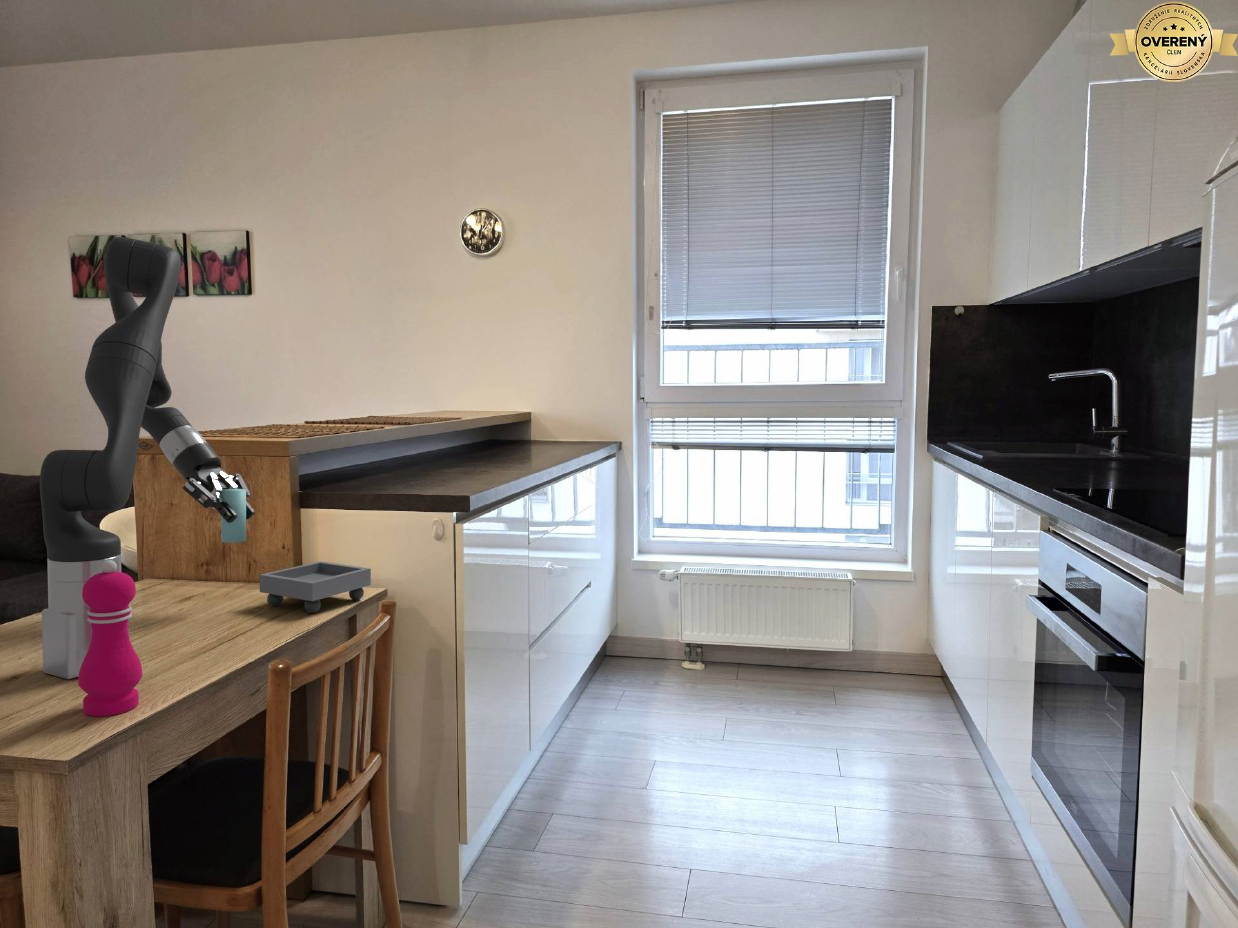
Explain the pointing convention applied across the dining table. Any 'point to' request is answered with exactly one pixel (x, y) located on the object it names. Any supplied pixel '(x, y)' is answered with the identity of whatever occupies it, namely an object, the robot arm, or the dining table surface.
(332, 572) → the grey square tray
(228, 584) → the dining table surface
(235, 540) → the teal cylinder
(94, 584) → the pepper mill
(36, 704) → the dining table surface
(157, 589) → the dining table surface
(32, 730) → the dining table surface
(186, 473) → the robot arm
